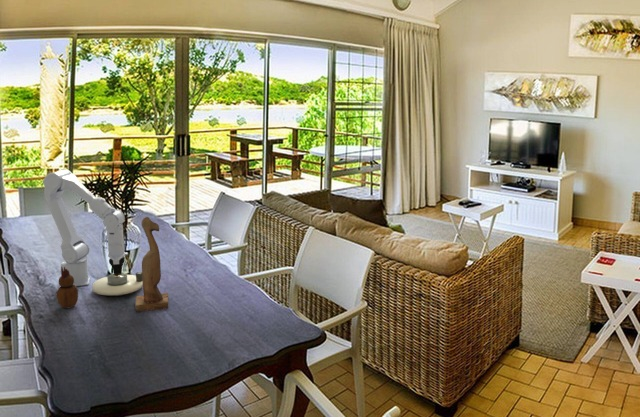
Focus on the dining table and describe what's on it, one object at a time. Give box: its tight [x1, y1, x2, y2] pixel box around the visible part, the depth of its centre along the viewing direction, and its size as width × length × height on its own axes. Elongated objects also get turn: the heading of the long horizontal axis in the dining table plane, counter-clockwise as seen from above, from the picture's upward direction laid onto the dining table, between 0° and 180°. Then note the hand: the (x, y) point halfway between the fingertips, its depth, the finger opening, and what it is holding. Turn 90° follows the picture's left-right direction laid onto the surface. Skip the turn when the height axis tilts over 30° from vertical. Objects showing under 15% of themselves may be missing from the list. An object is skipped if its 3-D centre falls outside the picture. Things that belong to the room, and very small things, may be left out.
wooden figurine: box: [56, 266, 79, 309], centre depth 199 cm, size 7×6×15 cm
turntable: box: [92, 271, 143, 296], centre depth 217 cm, size 18×18×5 cm
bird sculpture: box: [134, 216, 169, 313], centre depth 200 cm, size 11×12×32 cm
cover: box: [106, 272, 128, 286], centre depth 217 cm, size 7×7×3 cm
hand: (118, 276), depth 221 cm, fingers closed
